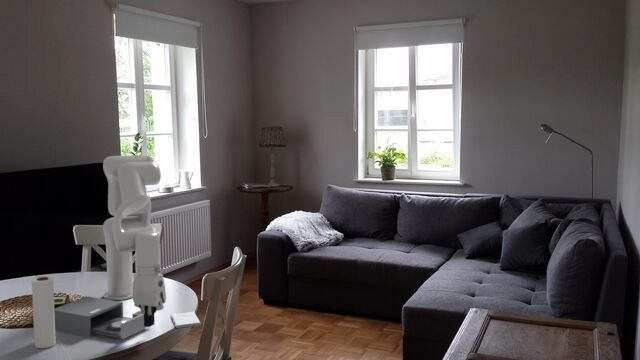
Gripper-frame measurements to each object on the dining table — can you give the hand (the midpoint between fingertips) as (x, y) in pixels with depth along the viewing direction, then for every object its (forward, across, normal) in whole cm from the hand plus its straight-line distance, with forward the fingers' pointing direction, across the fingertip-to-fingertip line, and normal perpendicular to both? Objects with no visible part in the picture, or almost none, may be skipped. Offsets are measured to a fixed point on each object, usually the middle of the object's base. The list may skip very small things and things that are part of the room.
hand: (149, 325), depth 192 cm
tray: (+3, +13, 0) cm, 13 cm away
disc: (+2, +12, 0) cm, 12 cm away
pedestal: (+4, +11, -10) cm, 15 cm away
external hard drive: (+5, -2, -18) cm, 18 cm away
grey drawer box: (+4, +26, 0) cm, 26 cm away
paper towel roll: (+4, +26, +18) cm, 32 cm away
